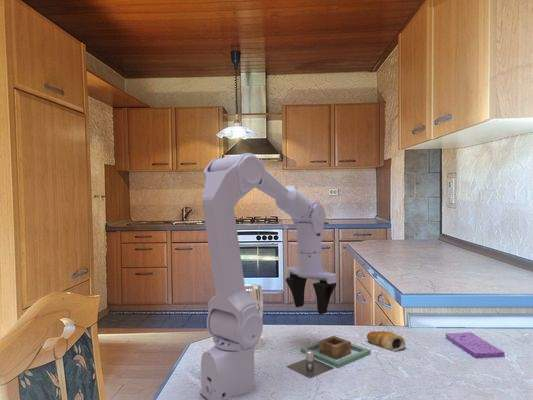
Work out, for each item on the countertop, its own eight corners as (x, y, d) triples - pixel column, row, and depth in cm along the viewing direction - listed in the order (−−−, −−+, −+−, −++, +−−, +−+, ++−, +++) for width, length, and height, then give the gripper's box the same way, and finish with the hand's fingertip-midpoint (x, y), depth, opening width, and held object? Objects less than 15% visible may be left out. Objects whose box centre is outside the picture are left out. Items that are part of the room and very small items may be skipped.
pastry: (360, 342, 92) (359, 327, 92) (380, 337, 95) (379, 323, 95) (388, 355, 83) (387, 338, 83) (409, 349, 86) (408, 333, 87)
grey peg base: (310, 384, 70) (309, 361, 70) (286, 372, 75) (285, 350, 75) (334, 373, 74) (333, 352, 74) (310, 362, 80) (309, 342, 80)
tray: (337, 373, 74) (337, 364, 74) (300, 357, 83) (300, 348, 83) (370, 359, 81) (370, 350, 81) (333, 345, 89) (332, 337, 89)
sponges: (471, 339, 93) (471, 331, 93) (505, 359, 81) (505, 351, 81) (444, 340, 93) (444, 332, 93) (475, 360, 80) (474, 352, 80)
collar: (336, 361, 78) (335, 347, 78) (319, 354, 82) (318, 341, 82) (351, 355, 81) (350, 341, 81) (333, 348, 85) (333, 335, 85)
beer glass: (252, 357, 83) (250, 291, 83) (229, 350, 87) (228, 288, 88) (269, 347, 89) (268, 285, 89) (247, 341, 93) (246, 282, 93)
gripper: (344, 253, 83) (345, 313, 82) (300, 248, 94) (301, 301, 94) (323, 256, 78) (324, 319, 78) (279, 250, 90) (280, 305, 89)
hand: (310, 309), depth 86 cm, fingers open, 7 cm apart
